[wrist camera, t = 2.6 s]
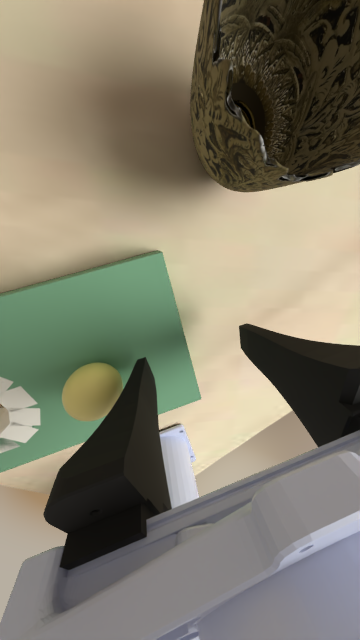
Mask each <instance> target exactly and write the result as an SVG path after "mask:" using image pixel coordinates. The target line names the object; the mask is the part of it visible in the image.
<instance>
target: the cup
mask: <svg viewBox="0 0 360 640" xmlns="http://www.w3.org/2000/svg"><path fill="white" fill-rule="evenodd" d="M190 114H191V127H192V134H193V139H194V143H195V147H196V150H197V153H198V156H199V158H200V160H201V162H202V164H203V166H204V168H205V169H206V171H207V172H208V174H209V175H210V176H211V177H212V178H213V179H214V180H215V181H216V182H217V183H219V184H220V185H222V186H223V187H225V188H227V189H230V190H233V191H238V192H257V191H263V190H268V189H273V188H278V187H282V186H287V185H291V184H295V183H300V182H304V181H312V180H316V179H320V178H325V177H328V176H331V175H332V174H333V173H336V172H339V171H342V170H346V169H349V168H352V167H354V166H357V165H359V164H360V0H204V4H203V10H202V16H201V21H200V27H199V33H198V39H197V45H196V51H195V58H194V66H193V74H192V83H191V99H190Z"/></svg>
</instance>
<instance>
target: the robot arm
mask: <svg viewBox="0 0 360 640" xmlns="http://www.w3.org/2000/svg"><path fill="white" fill-rule="evenodd" d="M239 330H240V343H241V349H242V350H243V351H244V353H245V354H246V356H247V357H248V358H249V359H250V360H251V362H252V363H253V364H254V365H255V366H256V367H257V368H258V369H259V370H260V371H261V372H262V373H263V374H264V375H265V376H266V377H267V378H268V379H269V380H270V381H271V383H272V384H273V385H274V386H275V387H276V389H277V390H278V391H279V392H280V394H281V395H282V396H283V397H284V399H285V400H286V401H287V403H288V404H289V405H290V407H291V408H292V409H293V411H294V412H295V414H296V415H297V416H298V418H299V419H300V421H301V422H302V423H303V425H304V426H305V428H306V429H307V431H308V432H309V434H310V435H311V437H312V438H313V440H314V441H315V443H316V444H317V446H318V448H316V449H313V450H311V451H309V452H306V453H304V454H301V455H299V456H297V457H294V458H292V459H289V460H287V461H285V462H282V463H280V464H278V465H275V466H273V467H270V468H268V469H266V470H264V471H261V472H259V473H256V474H254V475H251V476H249V477H247V478H244V479H242V480H240V481H237V482H235V483H232V484H230V485H228V486H225V487H223V488H221V489H218V490H216V491H213V492H211V493H209V494H206V495H204V496H201V497H199V494H198V490H197V485H196V481H195V477H194V472H193V468H192V464H191V462H194V461H195V460H196V457H195V454H194V452H193V449H192V447H191V444H190V441H189V439H188V436H187V434H186V431H185V429H184V426H183V425H182V424H180V425H177V426H174V427H171V428H169V429H166V430H163V431H161V432H159V425H158V407H157V390H156V384H155V378H154V375H153V373H152V371H151V368H150V366H149V364H148V361H147V359H146V357H144V358H141V359H137V361H136V363H135V366H134V368H133V370H132V372H131V375H130V377H129V379H128V381H127V383H126V385H125V387H124V389H123V391H122V392H121V394H120V396H119V398H118V399H117V401H116V403H115V404H114V406H113V407H112V409H111V410H110V412H109V413H108V414H107V416H106V417H105V418H104V420H103V421H102V422H101V424H100V425H99V426H98V428H97V429H96V430H95V431H94V432H93V434H92V435H91V436H90V437H89V438H88V439H87V441H86V442H85V443H84V444H83V445H82V446H81V447H80V448H79V449H78V451H77V452H76V453H75V454H74V455H73V456H72V457H71V458H70V459H69V460H68V461H67V462H66V463H65V464H64V465H63V466H62V467H61V468H60V469H59V472H58V474H57V477H56V480H55V482H54V485H53V488H52V491H51V494H50V496H49V499H48V502H47V505H46V508H45V511H44V517H45V520H46V521H47V522H48V523H49V524H50V525H52V526H54V527H56V528H58V529H60V530H62V531H64V532H66V533H68V535H67V539H66V543H65V546H60V547H55V548H52V549H49V550H47V551H45V552H42V553H40V554H37V555H35V556H33V557H30V558H28V559H26V560H25V561H24V562H23V563H22V566H21V568H20V571H19V574H18V577H17V579H16V582H15V585H14V587H13V590H12V593H11V595H10V598H9V601H8V604H7V606H6V609H5V612H4V615H3V617H2V620H1V623H0V640H360V346H355V345H341V344H331V343H324V342H317V341H310V340H305V339H300V338H295V337H291V336H287V335H283V334H280V333H276V332H273V331H270V330H266V329H263V328H260V327H257V326H254V325H250V324H244V325H241V326H239Z"/></svg>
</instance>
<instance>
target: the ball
mask: <svg viewBox="0 0 360 640" xmlns="http://www.w3.org/2000/svg"><path fill="white" fill-rule="evenodd" d="M122 391H123V382H122V378H121V376H120V374H119V372H118V371H117V370H116V369H115V368H114V367H112V366H111V365H109V364H106V363H99V362H97V363H90V364H87V365H84V366H82V367H80V368H79V369H77V370H76V371H75V372H74V373H72V375H71V376H70V377H69V378H68V380H67V381H66V383H65V385H64V388H63V391H62V403H63V406H64V409H65V410H66V412H67V413H68V414H69V415H70V416H71V417H73V418H74V419H77V420H79V421H95V420H98V419H100V418H103V417H104V416H106V415H107V414H108V413H109V412H110V410H111V409H112V407H113V406H114V404H115V403H116V401H117V399H118V398H119V396H120V394H121V392H122Z"/></svg>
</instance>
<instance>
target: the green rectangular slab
mask: <svg viewBox="0 0 360 640" xmlns="http://www.w3.org/2000/svg"><path fill="white" fill-rule="evenodd" d="M144 357H146V359H147V361H148V364H149V366H150V368H151V371H152V373H153V375H154V378H155V384H156V390H157V407H158V415H159V414H162V413H165V412H167V411H170V410H173V409H175V408H178V407H181V406H184V405H186V404H189V403H192V402H195V401H197V400H200V399H201V395H200V392H199V388H198V384H197V380H196V377H195V373H194V369H193V365H192V362H191V358H190V354H189V350H188V347H187V343H186V339H185V336H184V332H183V328H182V324H181V321H180V317H179V313H178V309H177V306H176V302H175V298H174V294H173V291H172V287H171V283H170V279H169V276H168V272H167V268H166V265H165V261H164V257H163V253H162V252H160V251H158V250H157V251H154V252H150V253H147V254H143V255H139V256H136V257H132V258H128V259H125V260H121V261H117V262H114V263H110V264H107V265H103V266H99V267H96V268H92V269H88V270H85V271H81V272H77V273H74V274H70V275H67V276H63V277H59V278H56V279H52V280H48V281H45V282H41V283H37V284H34V285H30V286H27V287H23V288H19V289H16V290H12V291H8V292H5V293H1V294H0V404H1V405H2V406H4V407H5V408H0V473H1V472H3V471H6V470H9V469H12V468H14V467H17V466H20V465H23V464H25V463H28V462H31V461H33V460H36V459H39V458H42V457H44V456H47V455H50V454H53V453H55V452H58V451H61V450H63V449H66V448H69V447H72V446H74V445H77V444H80V443H83V442H85V441H87V439H88V438H89V437H90V436H91V435H92V434H93V432H94V431H95V430H96V429H97V428H98V426H99V425H100V424H101V422H102V421H103V420H104V418H105V417H106V416H107V415H106V416H104V417H103V418H100V419H98V420H95V421H79V420H77V419H74V418H73V417H71V416H70V415H69V414H68V413H67V412H66V410H65V409H64V406H63V403H62V391H63V388H64V385H65V383H66V381H67V380H68V378H69V377H70V376H71V375H72V373H74V372H75V371H76V370H77V369H79V368H80V367H82V366H84V365H87V364H90V363H97V362H99V363H106V364H109V365H111V366H112V367H114V368H115V369H116V370H117V371H118V372H119V374H120V376H121V378H122V382H123V389H124V387H125V385H126V383H127V381H128V379H129V377H130V375H131V372H132V370H133V368H134V366H135V363H136V361H137V359H141V358H144Z"/></svg>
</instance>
